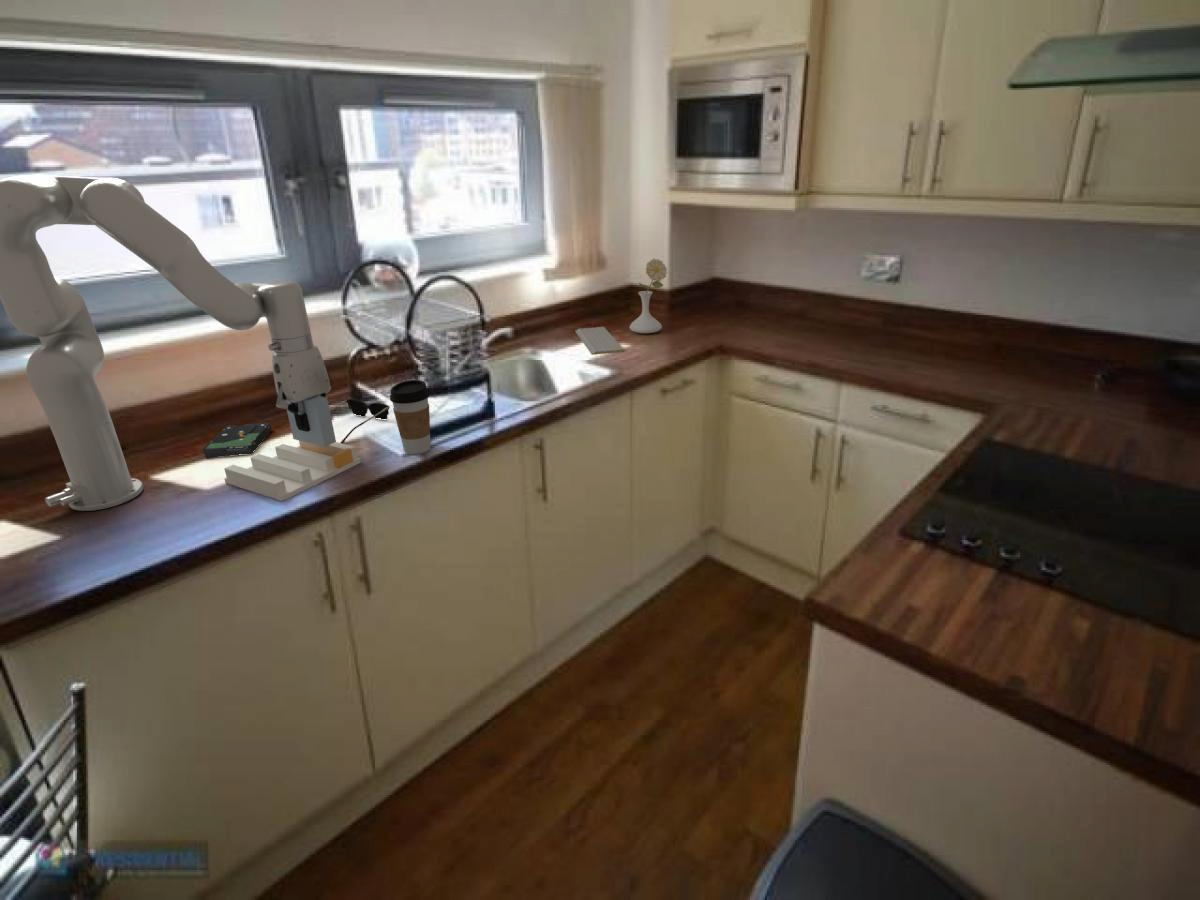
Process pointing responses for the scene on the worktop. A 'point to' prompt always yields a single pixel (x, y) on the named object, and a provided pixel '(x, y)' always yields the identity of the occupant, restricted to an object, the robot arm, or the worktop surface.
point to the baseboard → (598, 340)
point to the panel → (314, 422)
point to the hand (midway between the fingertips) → (311, 426)
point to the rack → (292, 469)
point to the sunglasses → (365, 411)
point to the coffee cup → (412, 415)
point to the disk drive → (237, 440)
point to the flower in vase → (645, 320)
